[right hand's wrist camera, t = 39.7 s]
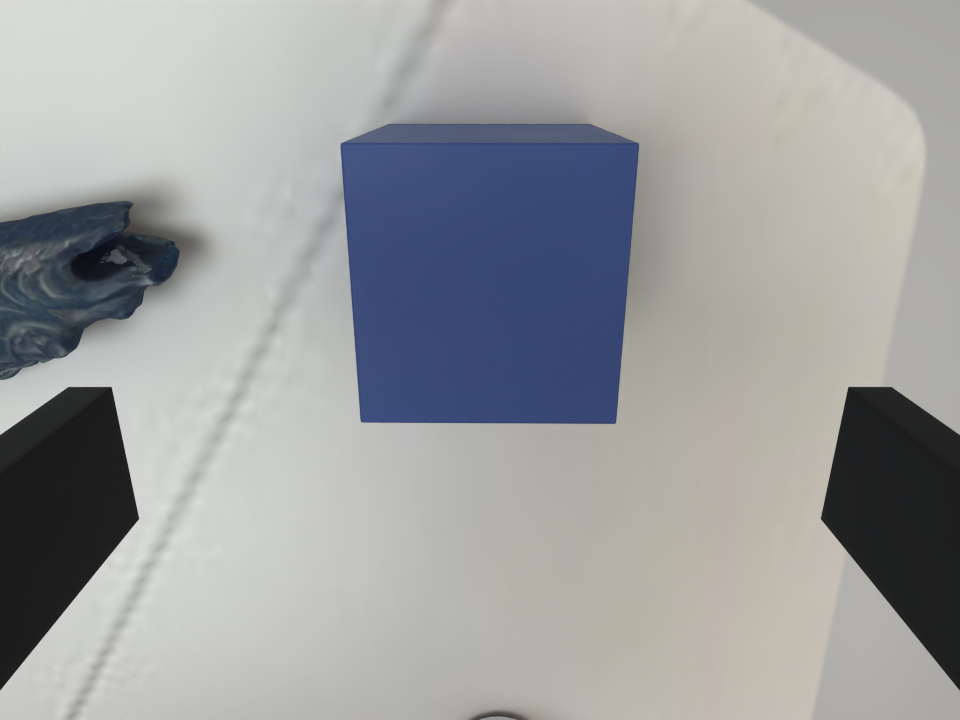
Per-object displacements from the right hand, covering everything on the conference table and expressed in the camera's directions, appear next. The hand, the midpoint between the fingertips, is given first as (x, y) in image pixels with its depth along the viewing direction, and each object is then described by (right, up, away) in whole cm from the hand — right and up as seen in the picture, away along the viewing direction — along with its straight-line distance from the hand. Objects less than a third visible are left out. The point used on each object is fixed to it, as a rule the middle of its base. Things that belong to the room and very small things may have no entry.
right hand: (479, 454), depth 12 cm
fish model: (-23, +5, +19) cm, 30 cm away
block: (0, +7, +17) cm, 19 cm away
